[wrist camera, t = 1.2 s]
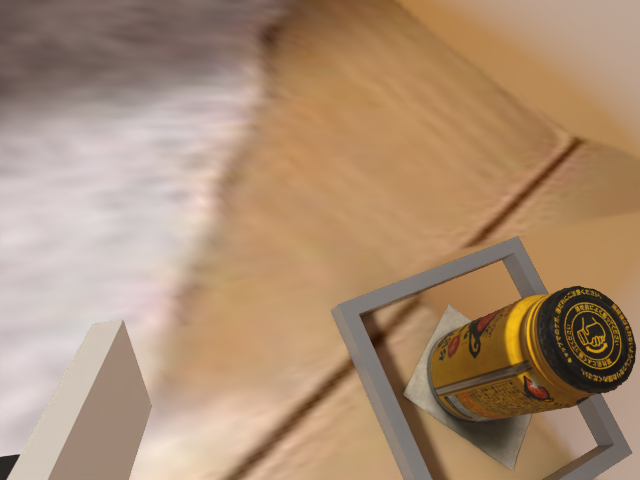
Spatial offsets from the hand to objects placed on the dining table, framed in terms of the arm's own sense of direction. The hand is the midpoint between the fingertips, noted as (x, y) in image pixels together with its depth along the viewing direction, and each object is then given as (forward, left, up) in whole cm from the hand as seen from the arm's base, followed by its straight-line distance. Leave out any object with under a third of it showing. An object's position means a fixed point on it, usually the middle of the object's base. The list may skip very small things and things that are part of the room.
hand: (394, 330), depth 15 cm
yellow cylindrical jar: (+4, +15, -22) cm, 27 cm away
